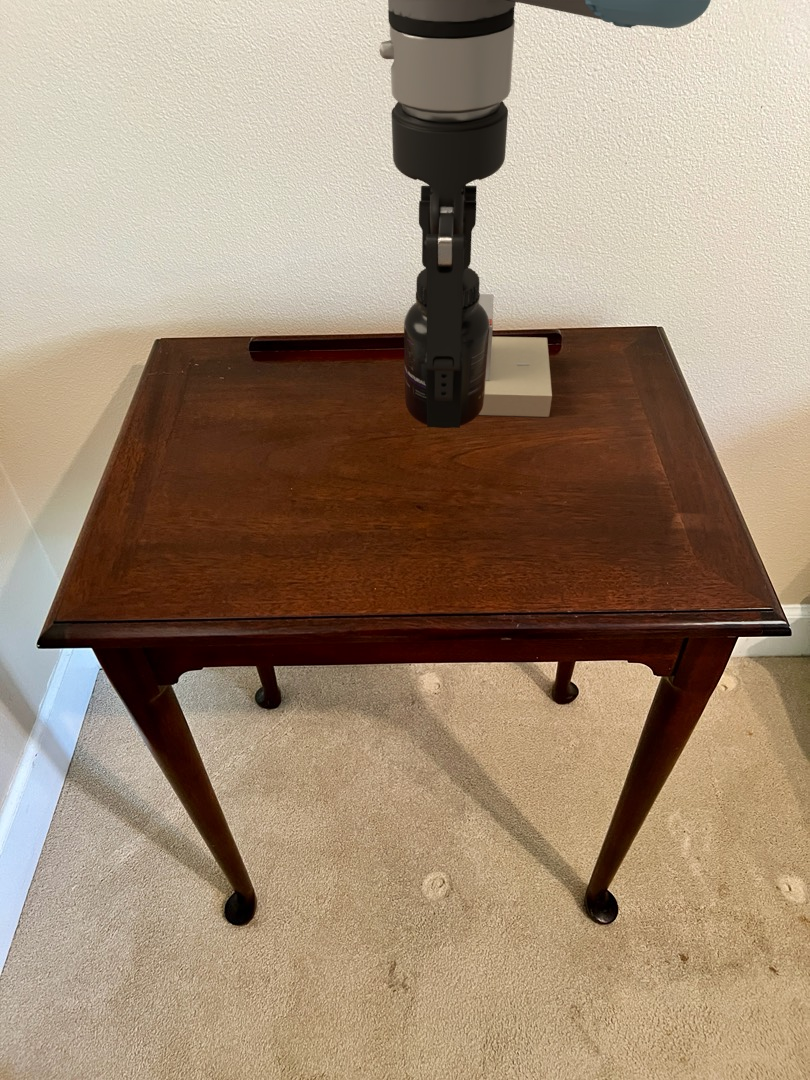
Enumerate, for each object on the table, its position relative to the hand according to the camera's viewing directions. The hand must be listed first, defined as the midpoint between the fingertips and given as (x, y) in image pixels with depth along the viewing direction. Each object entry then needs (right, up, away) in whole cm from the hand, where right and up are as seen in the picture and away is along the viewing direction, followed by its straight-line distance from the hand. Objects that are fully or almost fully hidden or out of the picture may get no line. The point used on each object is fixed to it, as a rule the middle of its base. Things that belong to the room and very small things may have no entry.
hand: (445, 396), depth 65 cm
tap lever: (+6, +9, +25) cm, 27 cm away
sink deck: (+6, +7, +27) cm, 28 cm away
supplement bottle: (0, -1, +1) cm, 1 cm away
